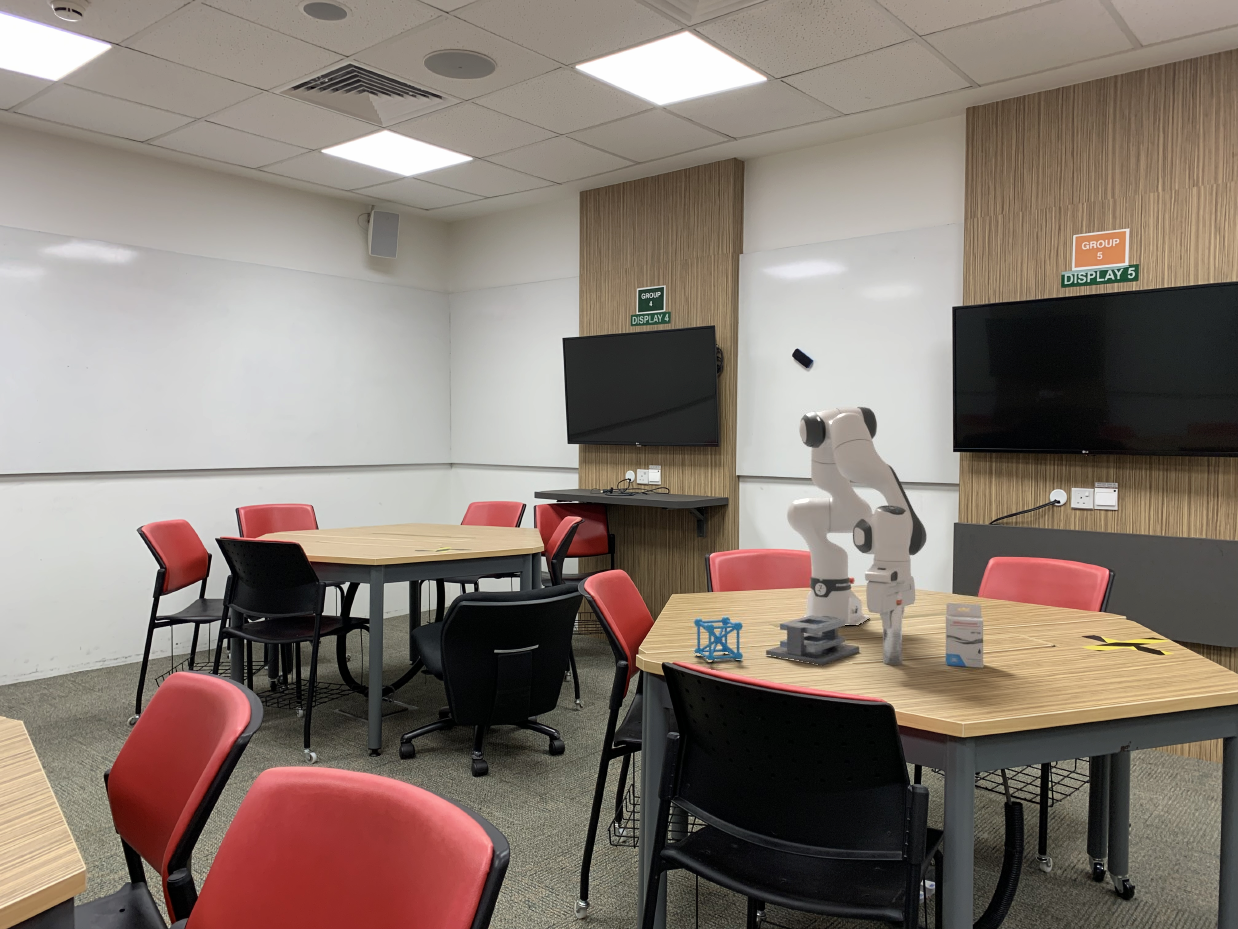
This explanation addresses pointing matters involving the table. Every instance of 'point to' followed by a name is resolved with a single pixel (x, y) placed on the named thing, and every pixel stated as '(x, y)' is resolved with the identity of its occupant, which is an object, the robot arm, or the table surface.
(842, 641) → the collar stand
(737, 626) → the molecular structure
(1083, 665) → the table surface
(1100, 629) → the table surface
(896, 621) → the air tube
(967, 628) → the ink box
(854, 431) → the robot arm
